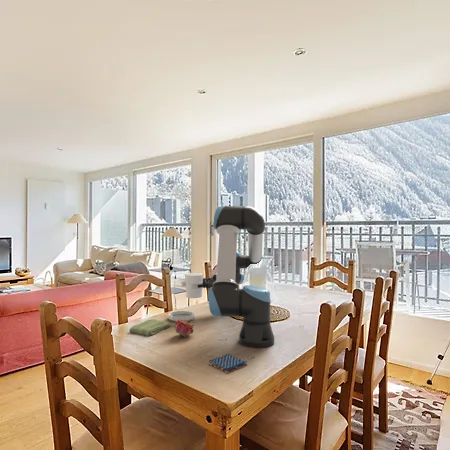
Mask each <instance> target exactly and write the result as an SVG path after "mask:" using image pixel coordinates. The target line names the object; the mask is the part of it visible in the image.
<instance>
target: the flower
mask: <svg viewBox="0 0 450 450" xmlns="http://www.w3.org/2000/svg"><path fill="white" fill-rule="evenodd" d="M174 323H175V324H176V325H175V332H176V333H177V334H179V336H178V339H181V337H182V336H183V337H184V338H189V336H190V335H191V334H193V332H194V324H191V323H190V322H188V321H187V320H183V321H182V320H181V321H180V320H178V321H175V322H174Z"/></svg>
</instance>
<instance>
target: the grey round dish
mask: <svg viewBox="0 0 450 450" xmlns="http://www.w3.org/2000/svg"><path fill="white" fill-rule="evenodd" d="M194 319H195V313H194V312H193V311H190V310H183V309H182V310H174V311H170V312H169V313H168V321H169V322H171V323H176V322H175V321H178V320H180V321H181V320H182V321H183V320H187V321H188V323H190V322H191V321H194Z"/></svg>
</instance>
